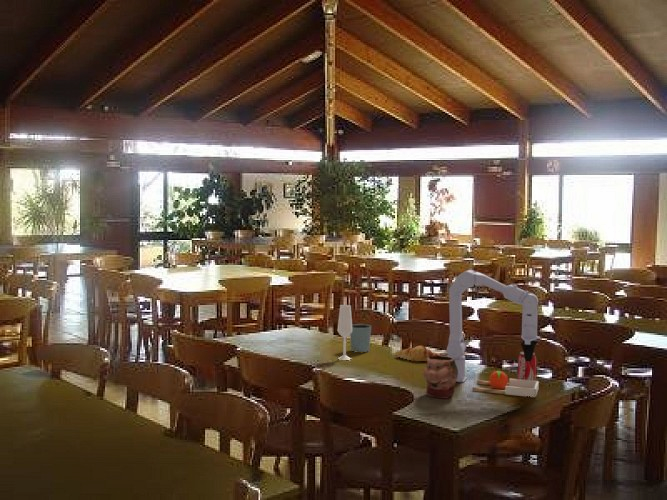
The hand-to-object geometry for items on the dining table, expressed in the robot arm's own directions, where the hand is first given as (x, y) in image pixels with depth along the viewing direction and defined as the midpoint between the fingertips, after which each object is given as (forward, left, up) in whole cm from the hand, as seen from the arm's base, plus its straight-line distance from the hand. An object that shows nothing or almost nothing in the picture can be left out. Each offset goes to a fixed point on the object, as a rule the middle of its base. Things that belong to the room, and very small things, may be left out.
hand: (528, 360), depth 296 cm
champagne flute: (-81, +19, -11) cm, 84 cm away
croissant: (-51, +32, -11) cm, 61 cm away
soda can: (-1, +6, -11) cm, 12 cm away
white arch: (-1, -9, -10) cm, 14 cm away
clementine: (-10, -9, -11) cm, 17 cm away
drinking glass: (-80, +39, -11) cm, 90 cm away
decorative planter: (-29, -25, -11) cm, 40 cm away
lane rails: (-13, -9, -10) cm, 19 cm away
